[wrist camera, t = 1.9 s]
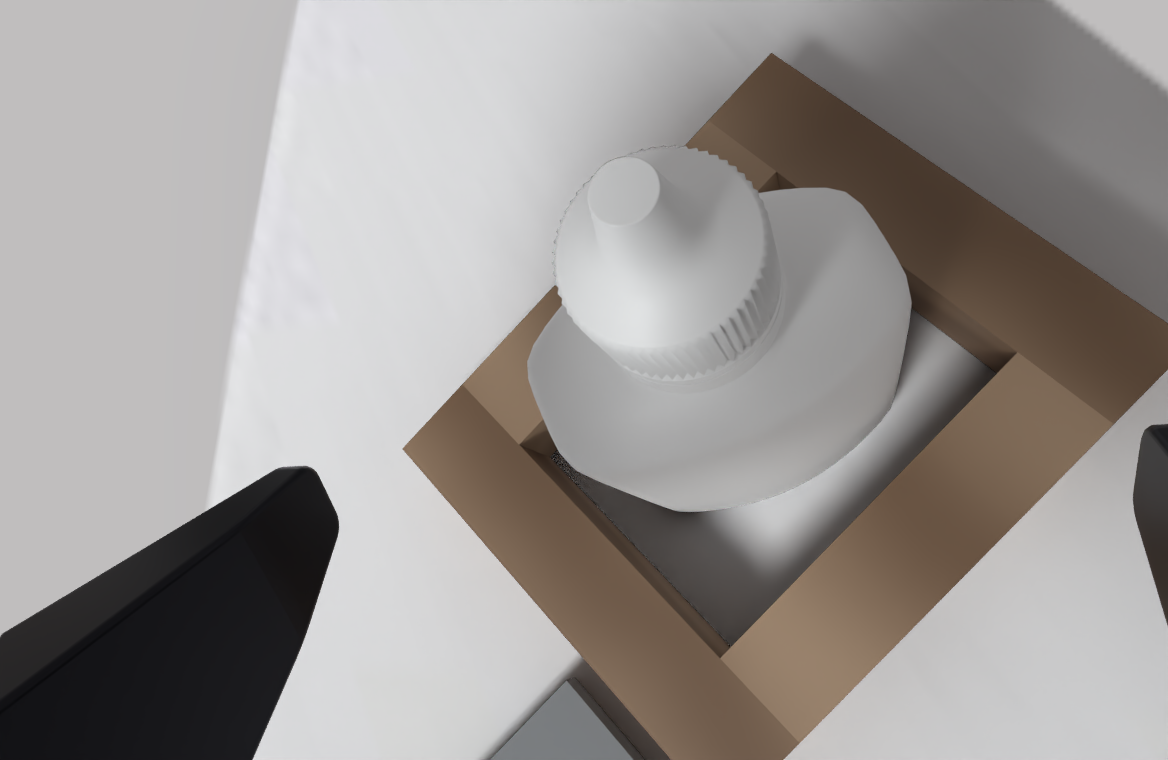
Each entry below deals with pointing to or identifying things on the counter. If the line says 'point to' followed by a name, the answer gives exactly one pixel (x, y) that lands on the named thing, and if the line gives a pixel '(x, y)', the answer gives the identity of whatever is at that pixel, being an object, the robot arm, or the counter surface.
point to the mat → (569, 731)
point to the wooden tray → (896, 516)
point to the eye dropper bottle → (715, 331)
